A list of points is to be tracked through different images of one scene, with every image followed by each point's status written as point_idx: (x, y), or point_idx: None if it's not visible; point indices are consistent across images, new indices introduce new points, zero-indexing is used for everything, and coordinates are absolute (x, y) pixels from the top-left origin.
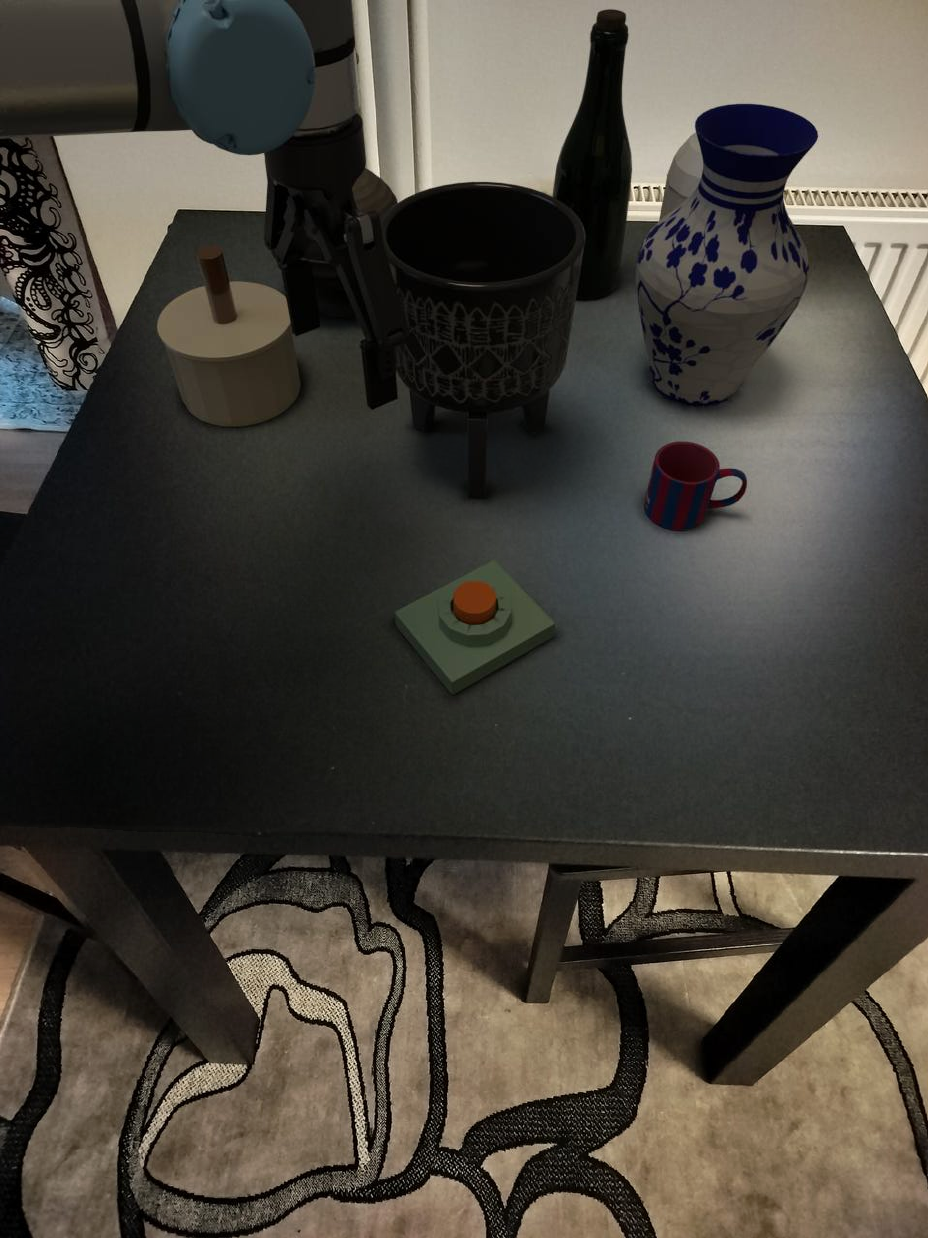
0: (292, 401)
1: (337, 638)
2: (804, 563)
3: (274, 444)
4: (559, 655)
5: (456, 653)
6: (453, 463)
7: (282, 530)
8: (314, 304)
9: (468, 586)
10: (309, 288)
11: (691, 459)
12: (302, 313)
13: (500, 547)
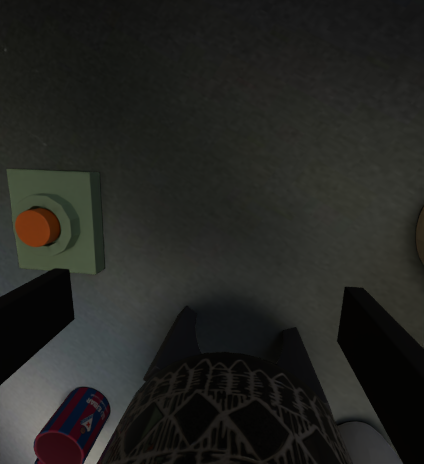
0: (421, 260)
1: (113, 123)
2: (9, 423)
3: (375, 208)
4: (17, 254)
5: (27, 189)
6: (230, 323)
7: (257, 149)
8: (359, 374)
9: (44, 232)
10: (385, 408)
11: (79, 454)
12: (360, 335)
13: (125, 289)
